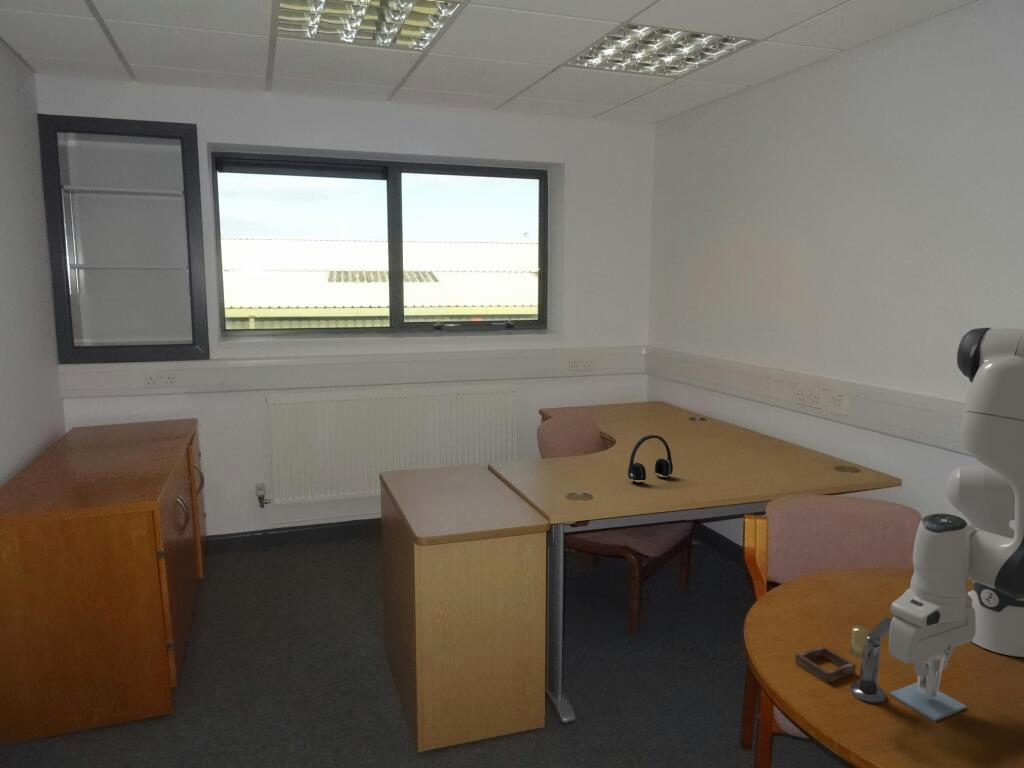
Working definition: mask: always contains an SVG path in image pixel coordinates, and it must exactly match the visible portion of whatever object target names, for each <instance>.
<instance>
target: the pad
mask: <svg viewBox="0 0 1024 768" xmlns="http://www.w3.org/2000/svg"><path fill="white" fill-rule="evenodd" d="M888 693H889V694H888V695H889V696H890V697H892V698H893V699H895V700H897V701H899V702H901V703H902V704H904V705H906V706H908V707H909V708H911V709H912V710H915V711H916V713H917V712H918V713H919V714H921V715H923V716H925V717H926V718H928V719H929V720H931V721H933V722H937V721H939V720H942V719H944V718H946V717H949V716H951V715H953V714H956V713H959V712H961V711H963V710H965V709H967V705H965V704H964V703H962V702H960V701H958V700H956V699H954V698H952V697H950V696H949V695H947V694H945V693H944V692H942V691H940V690H938V693H937V695H936V696H934V697H930V696H925V695H923V694H921V693H920V692H919V691H918V690H917V682H914V683H912V684H909V685H906V686H904V687H900V688H899V689H896V690H893V691H890V692H888Z"/></svg>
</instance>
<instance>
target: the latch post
mask: <svg viewBox="0 0 1024 768" xmlns="http://www.w3.org/2000/svg"><path fill="white" fill-rule="evenodd" d="M880 656H881V645H880V646H878V647H873V648H872V649H871V650H870V652H869V653H868V654H867V655H866V658H863V659H862V658H860V661H861V662H860V673H859V681H854V682H852V683H851V684H850V690H849V691H850V693H851V695H852V696H853V697H854V698H856V699H858V700H859V701H862V702H864V703H868V704H882V703H883V702H885V701H886V692H885V691H884V689H883V688H882V687H881V686H879V685H878V680H879V668H880Z"/></svg>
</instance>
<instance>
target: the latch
mask: <svg viewBox="0 0 1024 768" xmlns="http://www.w3.org/2000/svg"><path fill="white" fill-rule="evenodd" d="M892 619H893V617H888V616H885V617H884V618H882V619H881V621H879V623H878V624H877V625H876V626H875V627H874V628H873V629H872V630H871V631H870V632H869V628H867V627H865V626H863V625H853V626H852V629H851V642H850V655H851V656H853V657H854V658H858V659H863V658H866V655H867V654H868V653H869V652H870V650H871V649H872V648H873V647H878V646H880V647H881V642H882V641H883V639H884V638H886V636H887V635H889V633H890V625H891V621H892Z"/></svg>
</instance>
